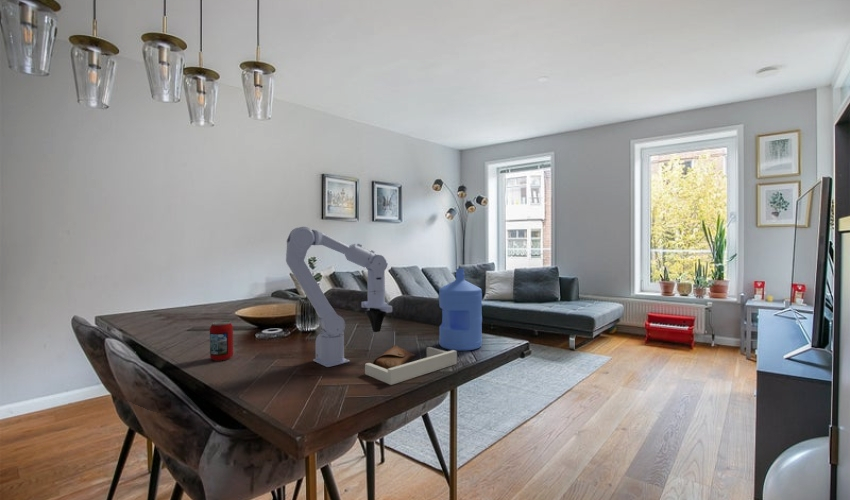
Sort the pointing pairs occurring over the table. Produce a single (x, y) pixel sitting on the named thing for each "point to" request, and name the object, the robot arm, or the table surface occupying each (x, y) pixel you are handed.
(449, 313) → the water jug
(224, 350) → the beverage can
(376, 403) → the table surface
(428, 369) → the cream tray
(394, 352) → the sunglasses case
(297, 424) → the table surface
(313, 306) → the robot arm
